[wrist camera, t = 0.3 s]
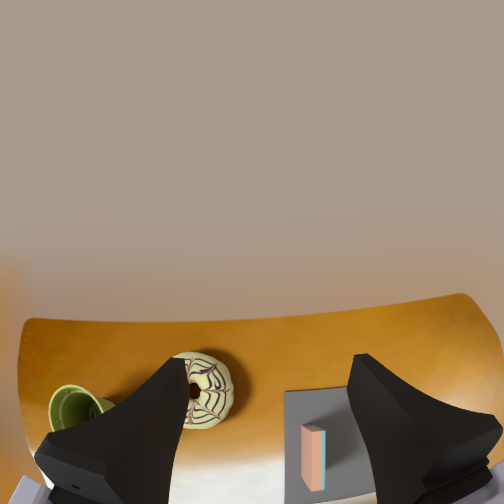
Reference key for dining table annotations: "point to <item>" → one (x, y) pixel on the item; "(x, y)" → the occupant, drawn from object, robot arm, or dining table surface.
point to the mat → (326, 447)
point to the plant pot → (74, 407)
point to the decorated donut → (207, 390)
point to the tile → (313, 457)
